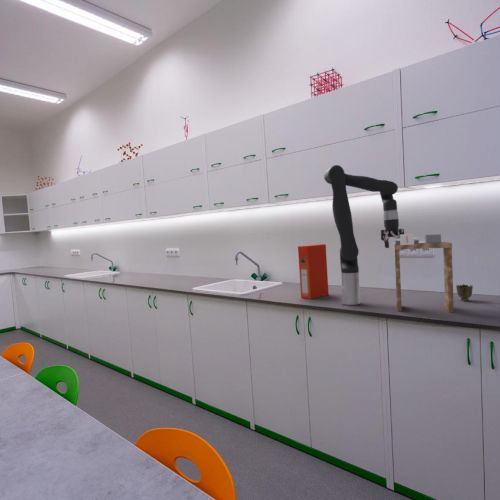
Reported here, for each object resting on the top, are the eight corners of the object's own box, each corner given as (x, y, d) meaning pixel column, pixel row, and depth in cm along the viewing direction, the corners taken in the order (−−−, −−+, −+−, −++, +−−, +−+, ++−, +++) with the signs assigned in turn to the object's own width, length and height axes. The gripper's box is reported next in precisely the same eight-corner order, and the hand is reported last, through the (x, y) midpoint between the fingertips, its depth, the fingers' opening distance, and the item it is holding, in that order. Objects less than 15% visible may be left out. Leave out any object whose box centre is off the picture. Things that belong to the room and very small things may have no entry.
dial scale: (395, 245, 169) (395, 234, 169) (395, 243, 182) (395, 234, 181) (418, 244, 166) (418, 233, 166) (417, 242, 178) (416, 232, 178)
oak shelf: (397, 311, 172) (394, 245, 170) (396, 305, 184) (394, 243, 182) (454, 312, 163) (451, 243, 161) (449, 306, 175) (447, 241, 173)
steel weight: (426, 243, 167) (426, 235, 167) (423, 241, 186) (423, 234, 185) (441, 243, 165) (440, 234, 165) (436, 241, 183) (435, 233, 183)
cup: (453, 300, 188) (452, 285, 188) (462, 298, 191) (462, 283, 191) (466, 302, 181) (466, 287, 181) (476, 300, 184) (476, 285, 184)
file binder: (300, 298, 220) (297, 246, 218) (318, 293, 231) (315, 244, 229) (311, 299, 214) (308, 246, 212) (328, 294, 225) (326, 244, 223)
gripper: (376, 220, 201) (378, 248, 202) (396, 218, 189) (399, 248, 190) (385, 219, 205) (388, 247, 206) (406, 217, 192) (408, 247, 193)
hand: (393, 248), depth 198 cm, fingers open, 8 cm apart
